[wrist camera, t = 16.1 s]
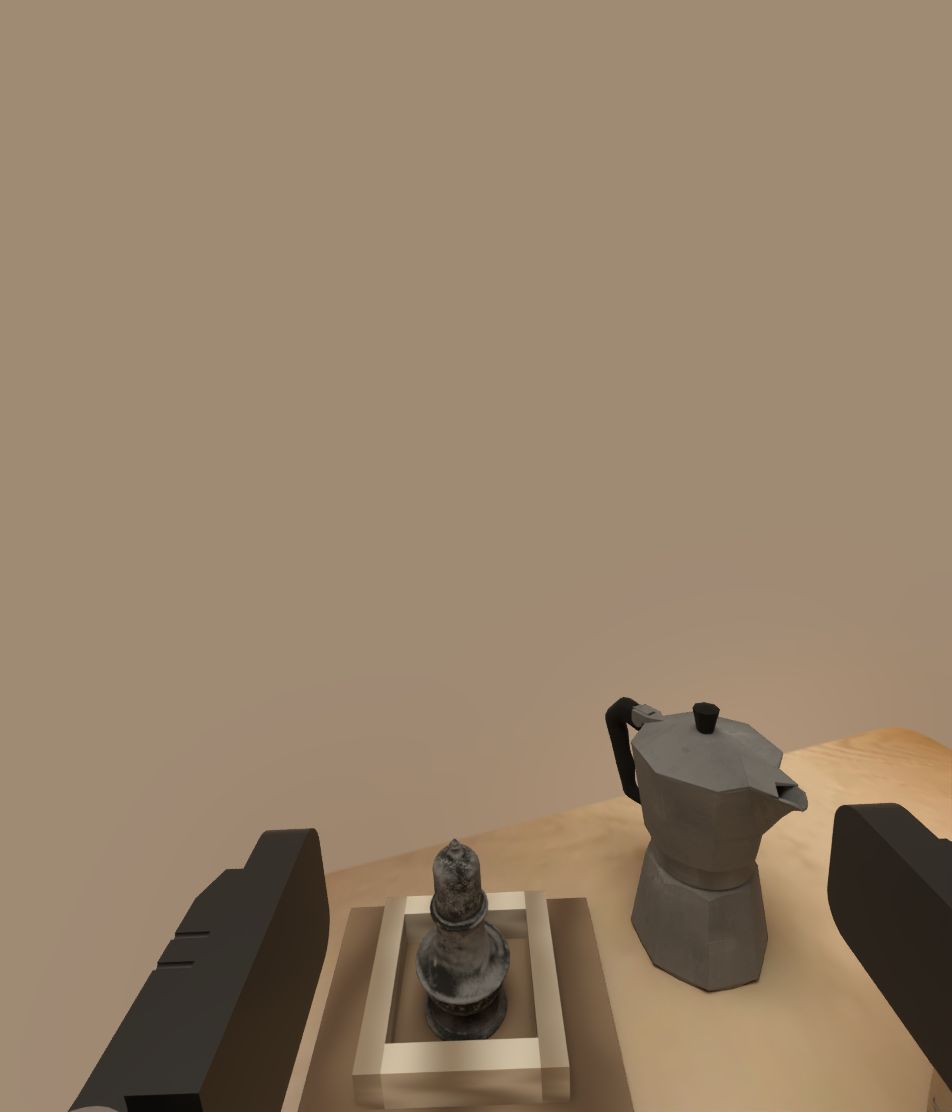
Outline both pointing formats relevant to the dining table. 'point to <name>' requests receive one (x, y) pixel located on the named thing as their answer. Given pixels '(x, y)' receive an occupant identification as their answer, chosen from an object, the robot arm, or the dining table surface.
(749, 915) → the coffeepot
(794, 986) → the dining table surface
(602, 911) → the dining table surface
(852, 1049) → the dining table surface
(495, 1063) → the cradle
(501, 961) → the salt shaker
